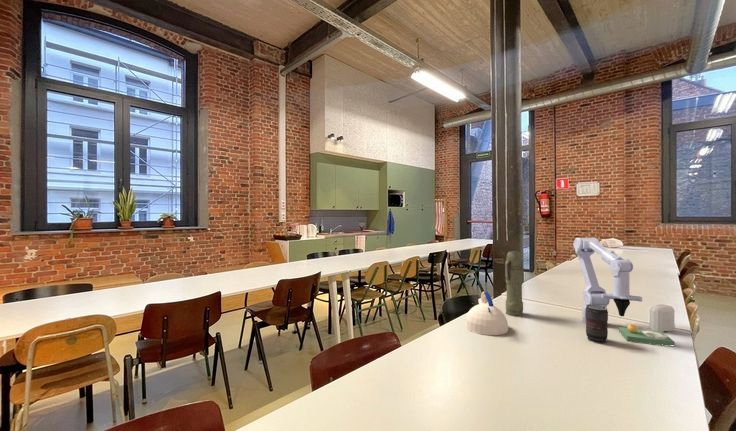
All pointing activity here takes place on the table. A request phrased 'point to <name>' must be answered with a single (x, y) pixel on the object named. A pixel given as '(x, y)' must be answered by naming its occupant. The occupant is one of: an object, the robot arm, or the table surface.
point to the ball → (632, 328)
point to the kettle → (486, 318)
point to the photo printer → (662, 318)
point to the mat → (646, 336)
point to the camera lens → (596, 323)
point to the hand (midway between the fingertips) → (621, 315)
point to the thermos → (514, 283)
